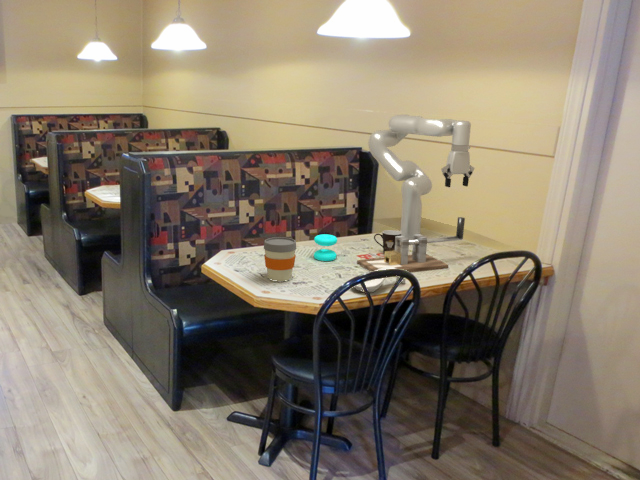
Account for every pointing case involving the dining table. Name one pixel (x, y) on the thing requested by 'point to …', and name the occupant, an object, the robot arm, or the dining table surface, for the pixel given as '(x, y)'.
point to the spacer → (392, 257)
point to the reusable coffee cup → (279, 257)
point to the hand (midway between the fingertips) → (456, 186)
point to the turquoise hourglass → (325, 253)
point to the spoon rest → (376, 281)
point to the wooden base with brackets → (407, 257)
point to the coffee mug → (388, 239)
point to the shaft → (443, 239)
